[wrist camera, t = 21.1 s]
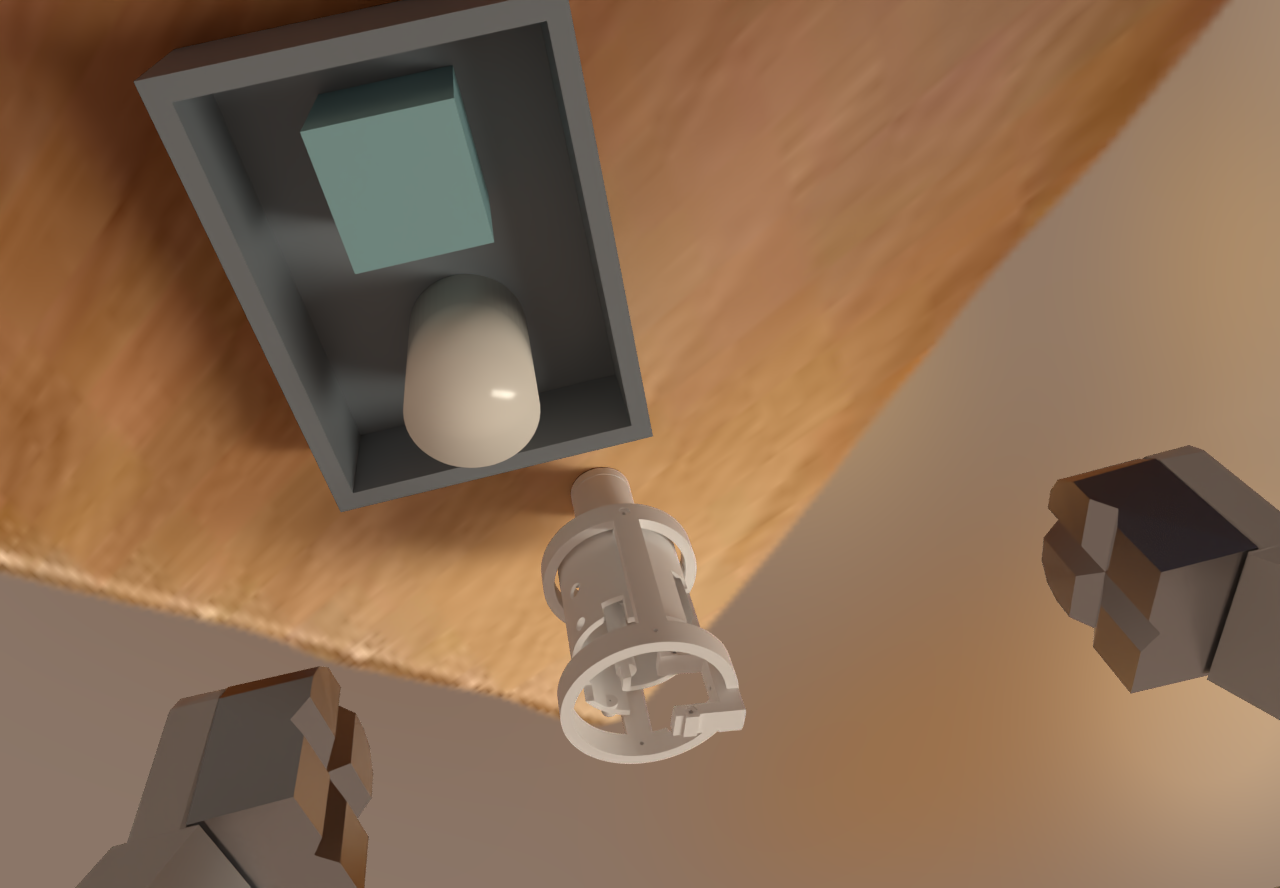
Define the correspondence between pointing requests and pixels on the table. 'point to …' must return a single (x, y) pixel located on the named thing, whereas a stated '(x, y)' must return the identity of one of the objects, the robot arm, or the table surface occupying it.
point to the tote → (384, 298)
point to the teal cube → (399, 169)
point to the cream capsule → (469, 373)
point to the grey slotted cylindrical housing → (632, 625)
